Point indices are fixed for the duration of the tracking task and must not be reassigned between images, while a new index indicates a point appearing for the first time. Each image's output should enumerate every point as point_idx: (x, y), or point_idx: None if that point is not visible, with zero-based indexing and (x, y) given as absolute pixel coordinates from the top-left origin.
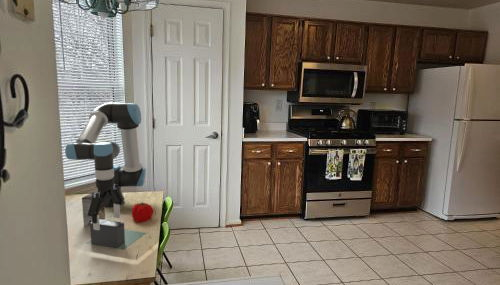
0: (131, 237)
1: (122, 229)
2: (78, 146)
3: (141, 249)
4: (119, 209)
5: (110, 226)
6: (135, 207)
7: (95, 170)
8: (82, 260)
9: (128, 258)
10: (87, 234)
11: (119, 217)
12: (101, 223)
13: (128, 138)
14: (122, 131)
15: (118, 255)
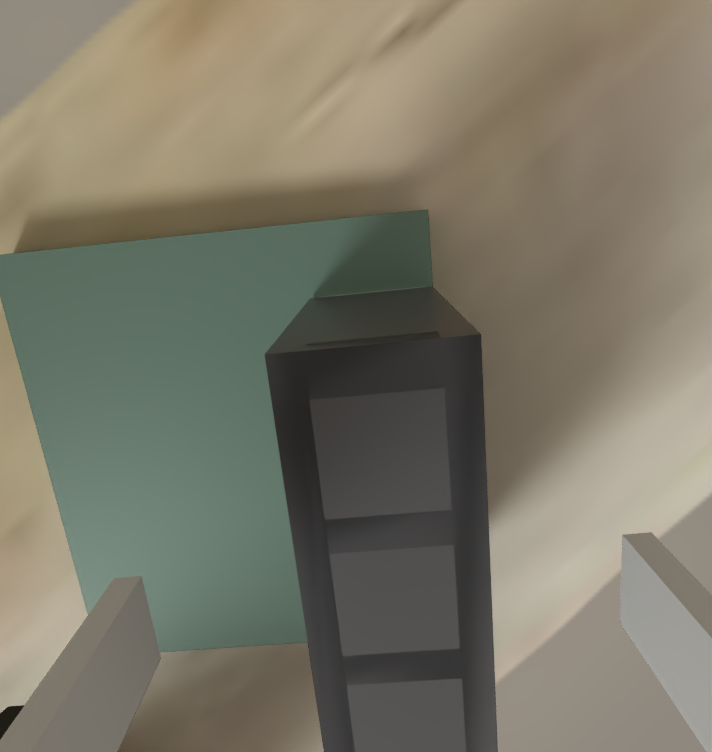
0: (165, 336)
1: (329, 327)
2: None
3: (284, 83)
4: (35, 703)
5: (482, 463)
6: None
7: None
8: (666, 457)
9: (500, 77)
10: (277, 742)
11: (128, 581)
12: (455, 654)
13: None
14: None
15: (484, 225)
